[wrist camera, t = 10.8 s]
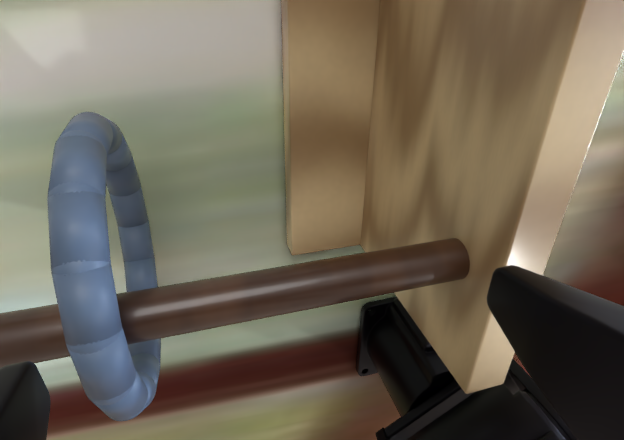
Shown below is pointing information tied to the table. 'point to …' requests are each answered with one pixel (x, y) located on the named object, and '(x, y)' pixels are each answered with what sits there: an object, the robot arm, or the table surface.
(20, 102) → the table surface
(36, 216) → the table surface
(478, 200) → the peg rack
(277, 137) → the table surface
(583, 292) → the robot arm
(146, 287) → the slate ring
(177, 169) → the table surface
